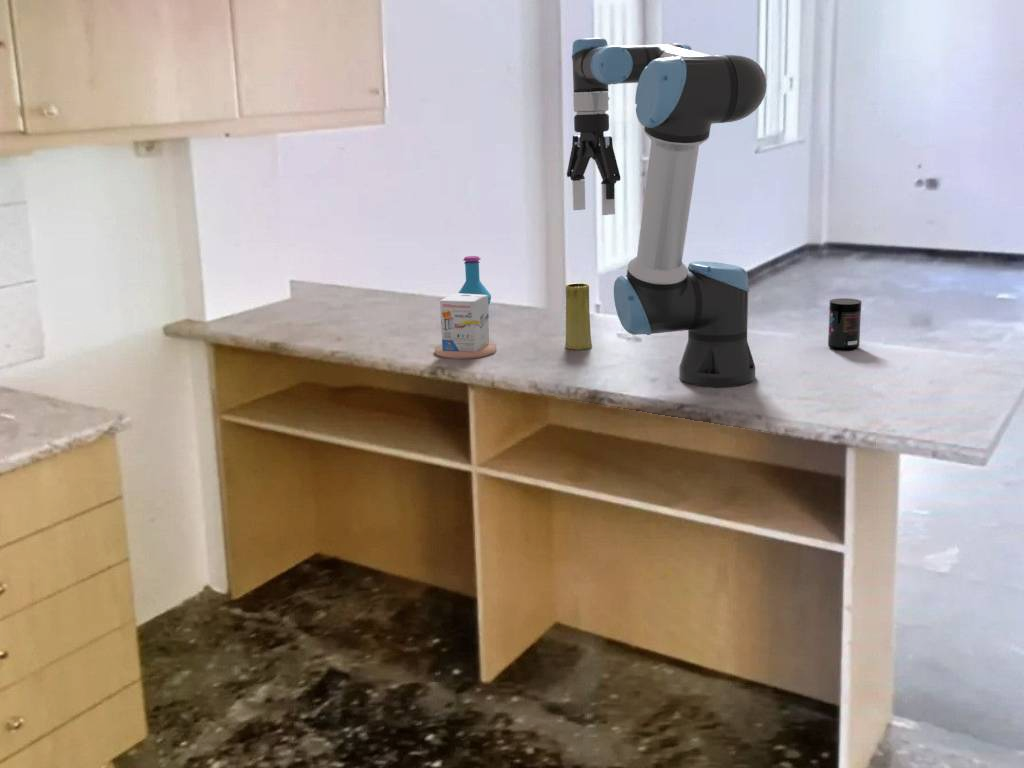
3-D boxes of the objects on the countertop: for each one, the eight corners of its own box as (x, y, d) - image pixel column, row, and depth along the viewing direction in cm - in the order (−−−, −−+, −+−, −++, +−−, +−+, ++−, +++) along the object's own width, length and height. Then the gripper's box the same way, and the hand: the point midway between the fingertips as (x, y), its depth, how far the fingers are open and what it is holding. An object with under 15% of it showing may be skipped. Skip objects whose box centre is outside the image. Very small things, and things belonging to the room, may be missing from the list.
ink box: (441, 350, 260) (438, 299, 257) (455, 342, 268) (453, 292, 265) (476, 352, 257) (474, 300, 254) (490, 343, 265) (488, 293, 262)
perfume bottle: (491, 317, 298) (488, 259, 294) (455, 318, 298) (452, 260, 295) (492, 309, 307) (490, 253, 303) (457, 311, 307) (454, 254, 303)
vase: (590, 350, 260) (588, 287, 256) (563, 350, 261) (561, 287, 257) (593, 344, 266) (592, 282, 262) (567, 343, 267) (565, 282, 263)
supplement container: (844, 343, 259) (846, 297, 256) (866, 348, 253) (868, 301, 250) (821, 347, 256) (822, 300, 253) (842, 353, 250) (844, 305, 247)
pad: (505, 354, 259) (505, 349, 259) (446, 361, 254) (446, 357, 254) (483, 341, 272) (483, 337, 272) (426, 348, 267) (426, 344, 267)
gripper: (635, 112, 240) (637, 215, 245) (580, 112, 262) (582, 206, 268) (603, 114, 237) (605, 218, 243) (550, 113, 259) (553, 209, 265)
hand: (593, 212), depth 255 cm, fingers open, 13 cm apart
